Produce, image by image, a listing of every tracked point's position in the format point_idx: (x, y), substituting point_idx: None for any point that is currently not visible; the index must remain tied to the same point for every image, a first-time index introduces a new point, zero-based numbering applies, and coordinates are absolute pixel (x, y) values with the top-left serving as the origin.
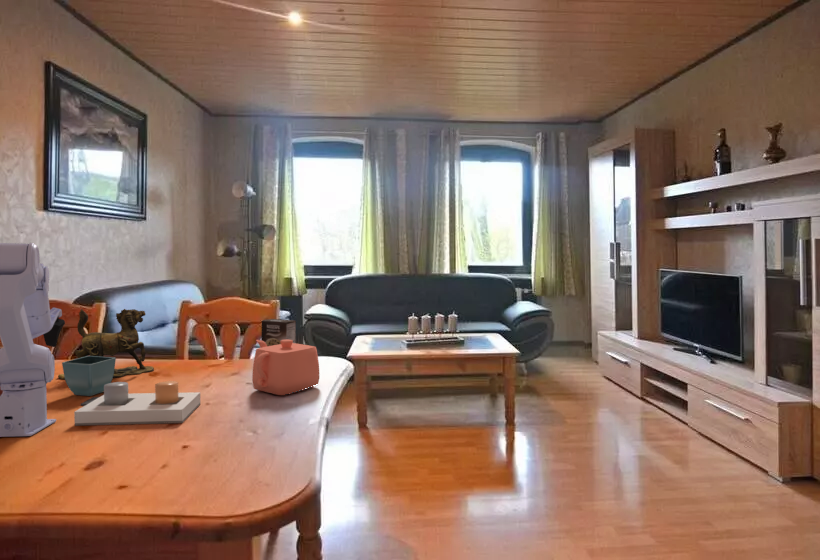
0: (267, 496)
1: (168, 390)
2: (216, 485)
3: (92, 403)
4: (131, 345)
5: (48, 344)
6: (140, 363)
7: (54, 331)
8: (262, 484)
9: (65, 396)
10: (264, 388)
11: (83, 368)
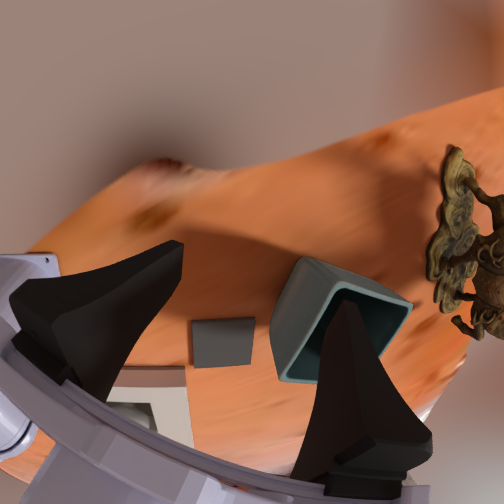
0: (11, 472)
1: None
2: (7, 461)
3: (110, 391)
4: (479, 323)
5: (337, 315)
6: (463, 298)
7: (312, 432)
8: (21, 474)
9: (290, 241)
10: (241, 487)
11: (285, 351)
